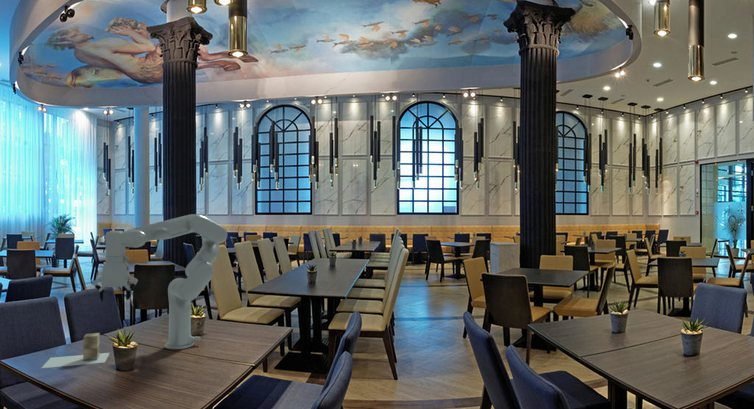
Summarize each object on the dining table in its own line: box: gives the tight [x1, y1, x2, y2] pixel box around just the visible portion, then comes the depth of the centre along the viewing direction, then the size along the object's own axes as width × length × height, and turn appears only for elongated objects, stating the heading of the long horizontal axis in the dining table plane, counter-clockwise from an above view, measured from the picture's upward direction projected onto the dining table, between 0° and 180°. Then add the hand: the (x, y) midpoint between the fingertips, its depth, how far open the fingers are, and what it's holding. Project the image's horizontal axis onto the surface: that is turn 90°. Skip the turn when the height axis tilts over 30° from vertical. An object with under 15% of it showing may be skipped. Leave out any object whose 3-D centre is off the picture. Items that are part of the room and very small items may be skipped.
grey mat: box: [41, 352, 110, 369], centre depth 199 cm, size 22×14×1 cm, turn 112°
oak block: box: [82, 332, 101, 361], centre depth 201 cm, size 5×5×10 cm
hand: (115, 299), depth 205 cm, fingers open, 9 cm apart
